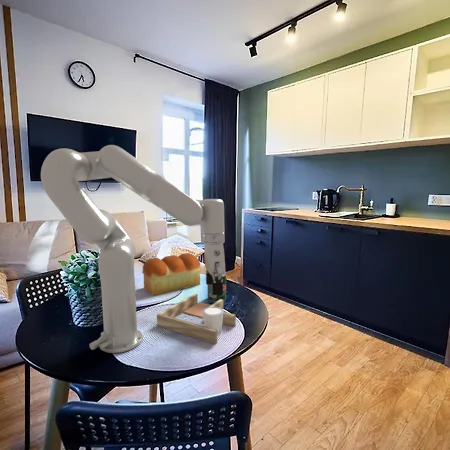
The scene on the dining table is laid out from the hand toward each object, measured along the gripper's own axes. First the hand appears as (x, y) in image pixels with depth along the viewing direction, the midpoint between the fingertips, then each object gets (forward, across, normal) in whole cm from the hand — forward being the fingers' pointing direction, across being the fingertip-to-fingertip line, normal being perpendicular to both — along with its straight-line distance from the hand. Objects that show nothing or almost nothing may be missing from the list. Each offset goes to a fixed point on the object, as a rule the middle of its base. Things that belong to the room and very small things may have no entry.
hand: (214, 289), depth 93 cm
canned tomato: (+15, +26, -7) cm, 31 cm away
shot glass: (+15, 0, +1) cm, 15 cm away
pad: (+14, +16, +1) cm, 22 cm away
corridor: (+14, +8, +2) cm, 17 cm away
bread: (+15, +47, +10) cm, 51 cm away
